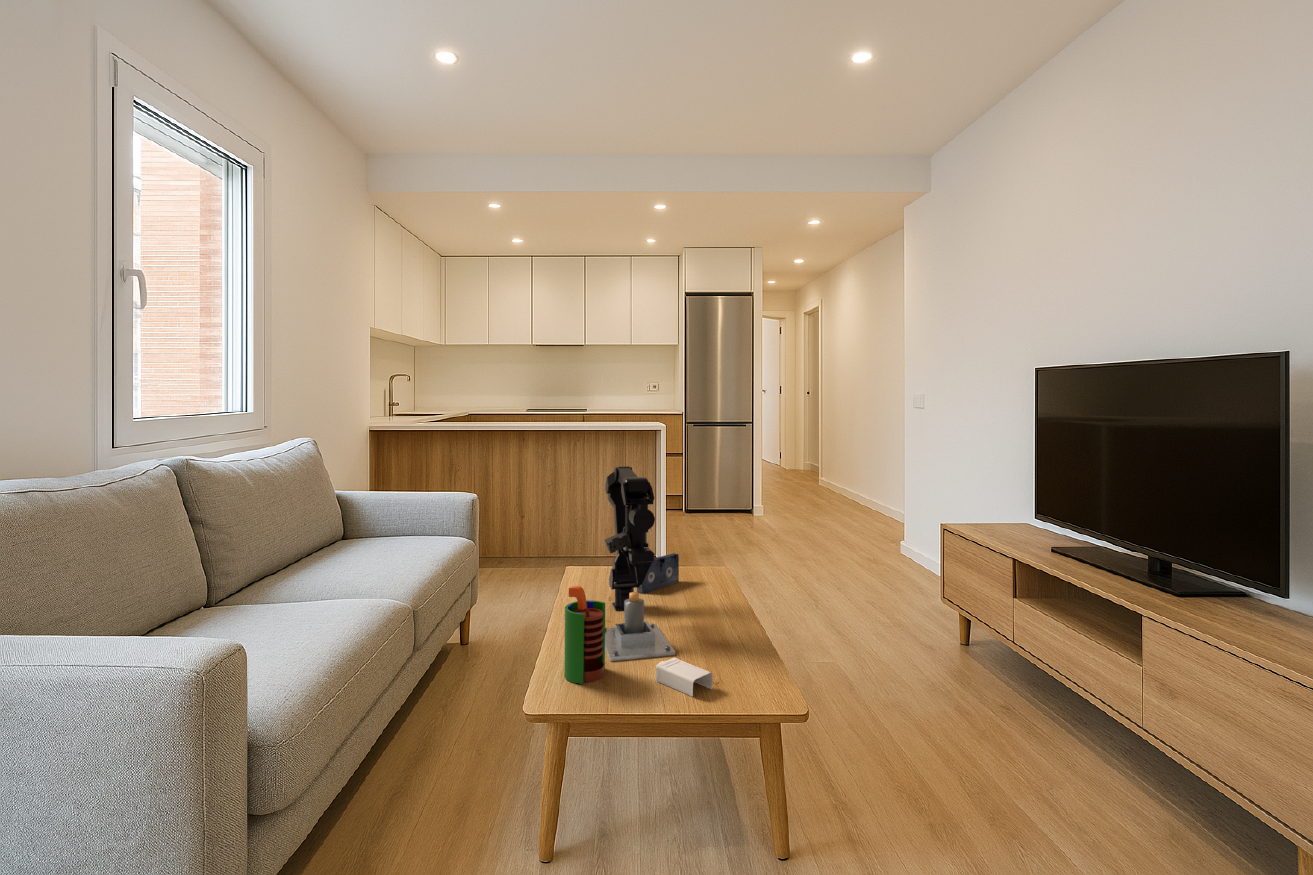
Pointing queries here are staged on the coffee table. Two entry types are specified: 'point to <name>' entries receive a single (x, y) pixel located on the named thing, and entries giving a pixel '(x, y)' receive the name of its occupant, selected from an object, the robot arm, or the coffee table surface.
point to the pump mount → (636, 643)
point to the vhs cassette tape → (661, 573)
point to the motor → (584, 638)
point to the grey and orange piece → (634, 614)
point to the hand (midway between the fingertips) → (636, 580)
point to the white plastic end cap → (682, 675)
